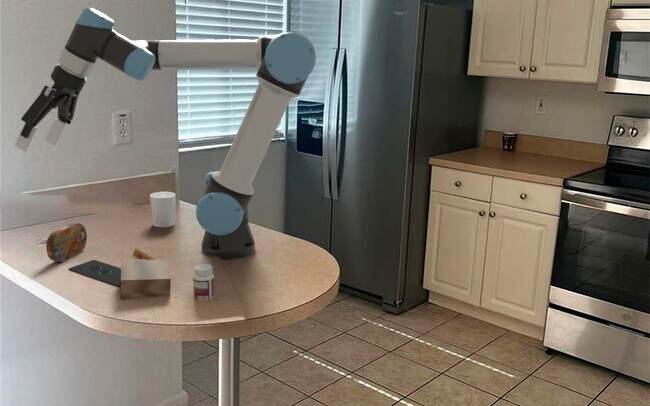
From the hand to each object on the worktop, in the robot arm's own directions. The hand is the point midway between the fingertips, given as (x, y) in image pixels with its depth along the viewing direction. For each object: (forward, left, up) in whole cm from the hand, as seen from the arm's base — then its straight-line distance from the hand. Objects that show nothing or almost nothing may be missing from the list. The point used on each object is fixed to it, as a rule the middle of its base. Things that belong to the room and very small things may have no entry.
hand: (35, 145), depth 152 cm
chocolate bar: (-25, +2, -33) cm, 41 cm away
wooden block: (-23, +23, -32) cm, 45 cm away
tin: (-5, -7, -33) cm, 34 cm away
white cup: (-33, -29, -33) cm, 54 cm away
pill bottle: (-36, +33, -33) cm, 58 cm away
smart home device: (-14, +11, -33) cm, 38 cm away
